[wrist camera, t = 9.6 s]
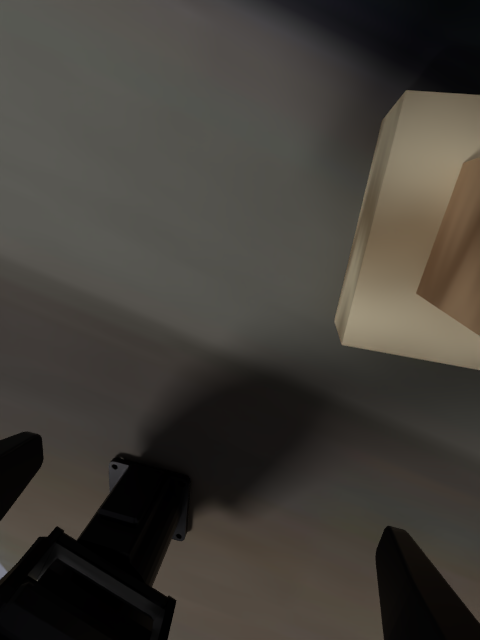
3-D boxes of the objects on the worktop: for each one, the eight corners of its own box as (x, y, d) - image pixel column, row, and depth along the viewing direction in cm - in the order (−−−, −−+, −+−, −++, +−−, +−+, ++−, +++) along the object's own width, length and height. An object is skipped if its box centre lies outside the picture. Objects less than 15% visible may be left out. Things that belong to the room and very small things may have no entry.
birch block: (522, 351, 17) (585, 389, 13) (333, 318, 18) (341, 344, 14) (620, 142, 13) (743, 112, 10) (379, 123, 15) (406, 90, 11)
